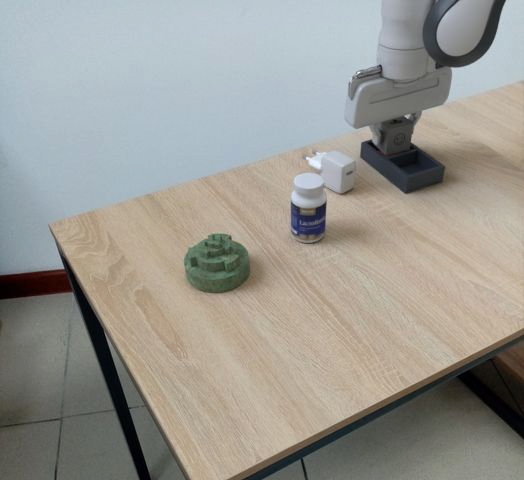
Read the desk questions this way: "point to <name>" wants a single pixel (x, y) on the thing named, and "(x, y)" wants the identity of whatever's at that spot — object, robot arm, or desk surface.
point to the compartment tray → (404, 166)
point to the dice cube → (396, 135)
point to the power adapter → (334, 169)
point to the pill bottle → (308, 208)
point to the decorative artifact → (217, 264)
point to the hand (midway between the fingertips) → (392, 138)
